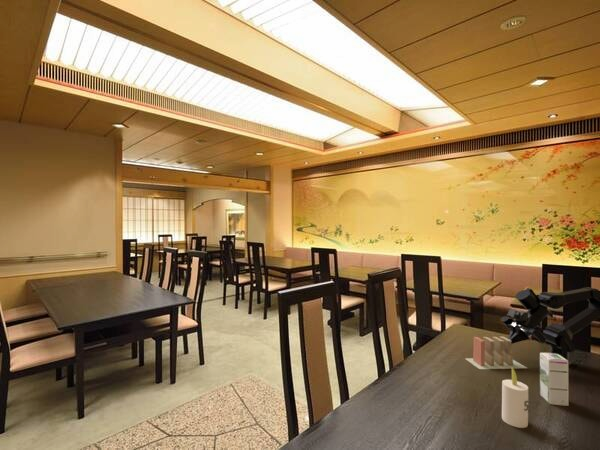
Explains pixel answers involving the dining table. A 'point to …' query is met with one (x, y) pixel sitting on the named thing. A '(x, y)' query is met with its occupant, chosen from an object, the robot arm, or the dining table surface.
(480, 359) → the domino
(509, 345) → the domino
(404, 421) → the dining table surface
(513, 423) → the candle
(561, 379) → the syrup box
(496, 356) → the domino
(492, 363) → the domino
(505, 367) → the mat
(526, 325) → the robot arm
